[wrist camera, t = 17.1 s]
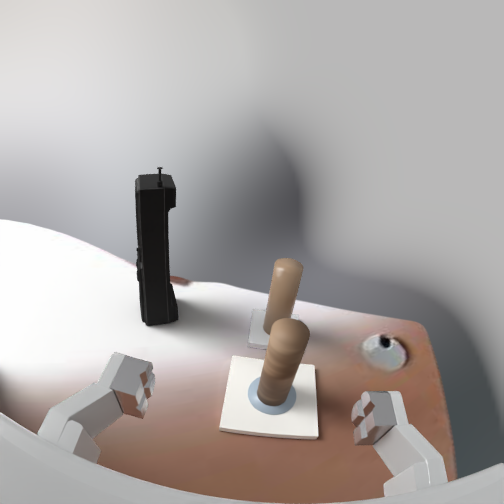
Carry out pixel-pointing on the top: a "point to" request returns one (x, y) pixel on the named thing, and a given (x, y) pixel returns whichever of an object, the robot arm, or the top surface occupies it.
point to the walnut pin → (282, 360)
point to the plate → (263, 416)
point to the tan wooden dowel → (276, 301)
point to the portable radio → (154, 247)
